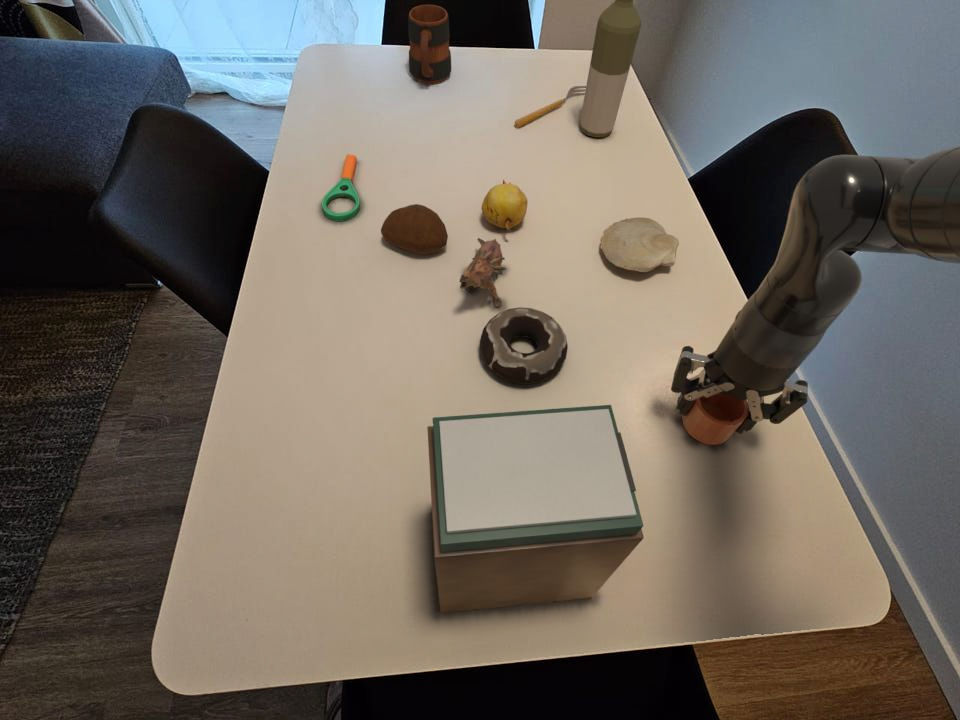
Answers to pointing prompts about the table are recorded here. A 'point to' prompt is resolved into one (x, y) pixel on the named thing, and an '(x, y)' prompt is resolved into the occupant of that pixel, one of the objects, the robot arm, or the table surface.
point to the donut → (516, 363)
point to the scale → (532, 478)
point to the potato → (415, 229)
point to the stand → (522, 567)
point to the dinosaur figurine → (484, 269)
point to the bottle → (609, 67)
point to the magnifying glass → (343, 192)
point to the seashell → (639, 244)
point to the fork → (549, 107)
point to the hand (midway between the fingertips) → (710, 418)
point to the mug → (429, 44)
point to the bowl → (715, 418)
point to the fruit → (504, 205)
